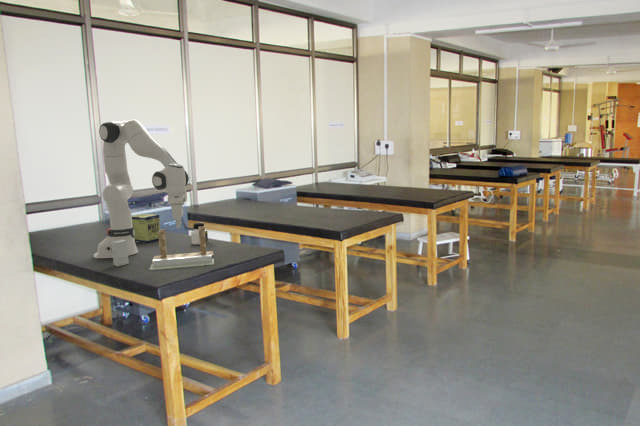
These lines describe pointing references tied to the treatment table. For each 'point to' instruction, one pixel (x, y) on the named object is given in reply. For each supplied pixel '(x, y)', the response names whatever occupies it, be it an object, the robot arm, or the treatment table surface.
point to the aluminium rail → (181, 260)
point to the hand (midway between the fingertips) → (179, 226)
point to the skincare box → (120, 252)
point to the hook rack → (202, 252)
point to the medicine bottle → (197, 233)
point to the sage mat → (181, 265)
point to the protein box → (146, 227)
